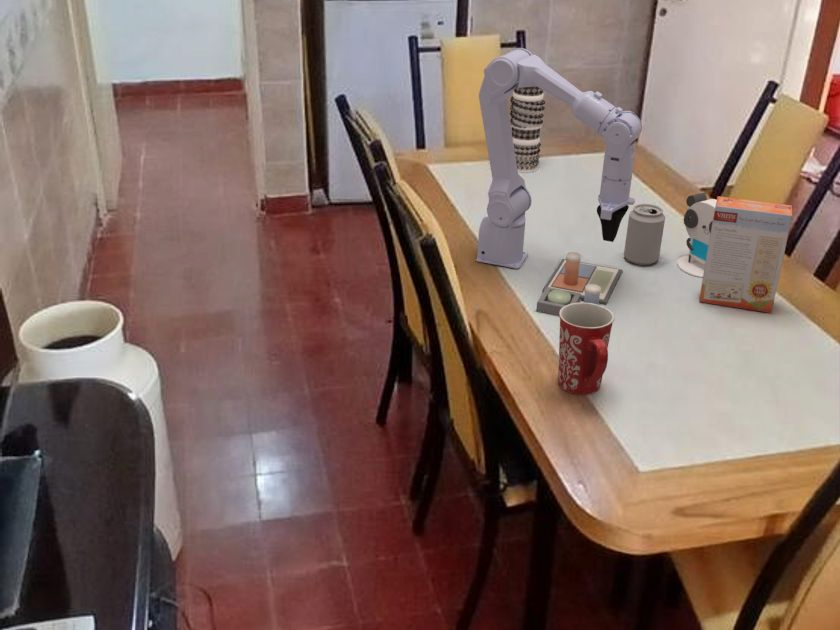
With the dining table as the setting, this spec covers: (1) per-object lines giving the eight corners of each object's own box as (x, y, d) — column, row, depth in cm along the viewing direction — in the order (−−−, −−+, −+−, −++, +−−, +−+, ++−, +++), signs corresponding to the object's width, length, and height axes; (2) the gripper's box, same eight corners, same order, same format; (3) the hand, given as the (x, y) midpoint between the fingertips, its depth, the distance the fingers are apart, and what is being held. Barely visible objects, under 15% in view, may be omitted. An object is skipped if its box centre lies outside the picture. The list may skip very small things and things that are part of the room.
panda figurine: (663, 261, 206) (674, 196, 198) (701, 250, 211) (713, 187, 203) (704, 283, 197) (716, 216, 189) (743, 272, 202) (756, 206, 194)
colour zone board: (542, 292, 191) (542, 288, 191) (562, 261, 204) (562, 257, 204) (606, 305, 187) (606, 300, 187) (622, 272, 200) (622, 268, 200)
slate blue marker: (580, 317, 183) (583, 289, 180) (584, 310, 185) (587, 282, 182) (595, 320, 182) (598, 292, 179) (598, 313, 184) (602, 285, 181)
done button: (544, 306, 185) (545, 297, 184) (550, 297, 189) (551, 288, 188) (566, 311, 184) (567, 302, 183) (572, 301, 187) (573, 292, 186)
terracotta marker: (562, 284, 193) (565, 257, 190) (564, 278, 195) (567, 251, 192) (576, 286, 192) (579, 259, 189) (578, 280, 194) (581, 253, 192)
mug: (545, 371, 165) (552, 303, 159) (594, 367, 167) (603, 299, 160) (568, 412, 154) (576, 341, 148) (620, 407, 156) (631, 337, 149)
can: (658, 268, 202) (666, 216, 196) (623, 265, 204) (630, 213, 198) (658, 254, 209) (666, 203, 203) (623, 250, 210) (630, 200, 204)
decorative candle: (504, 172, 252) (510, 78, 240) (507, 160, 260) (513, 69, 248) (538, 174, 251) (546, 80, 239) (540, 162, 259) (548, 71, 247)
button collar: (536, 310, 185) (537, 301, 184) (545, 295, 190) (546, 286, 189) (571, 318, 182) (572, 308, 181) (579, 302, 188) (581, 293, 187)
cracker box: (772, 301, 190) (793, 204, 180) (771, 314, 185) (793, 215, 175) (700, 289, 194) (717, 193, 184) (697, 302, 189) (715, 204, 179)
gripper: (630, 191, 177) (621, 257, 183) (644, 167, 189) (635, 229, 195) (593, 185, 179) (585, 251, 186) (609, 162, 191) (601, 224, 198)
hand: (608, 239), depth 191 cm, fingers closed
